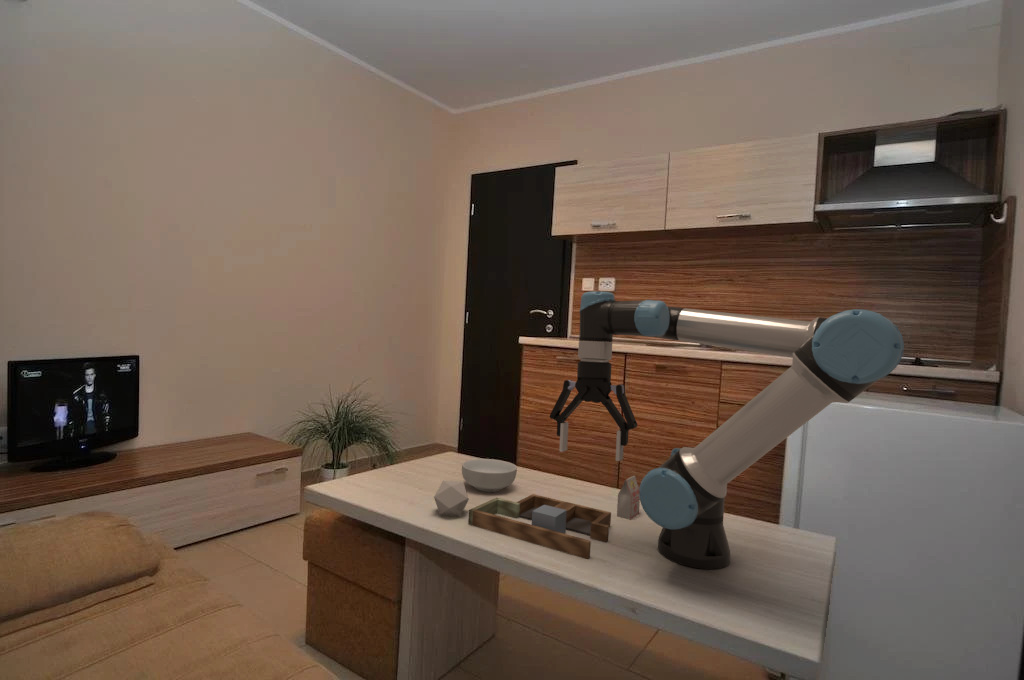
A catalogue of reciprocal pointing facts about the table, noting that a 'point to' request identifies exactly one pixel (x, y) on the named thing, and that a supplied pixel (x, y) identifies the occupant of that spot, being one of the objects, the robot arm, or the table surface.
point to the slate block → (550, 518)
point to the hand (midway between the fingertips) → (590, 455)
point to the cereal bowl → (488, 474)
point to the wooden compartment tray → (576, 520)
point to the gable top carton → (628, 499)
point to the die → (451, 498)
